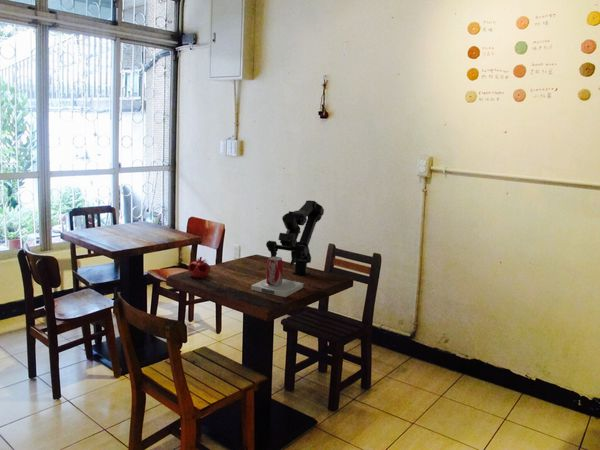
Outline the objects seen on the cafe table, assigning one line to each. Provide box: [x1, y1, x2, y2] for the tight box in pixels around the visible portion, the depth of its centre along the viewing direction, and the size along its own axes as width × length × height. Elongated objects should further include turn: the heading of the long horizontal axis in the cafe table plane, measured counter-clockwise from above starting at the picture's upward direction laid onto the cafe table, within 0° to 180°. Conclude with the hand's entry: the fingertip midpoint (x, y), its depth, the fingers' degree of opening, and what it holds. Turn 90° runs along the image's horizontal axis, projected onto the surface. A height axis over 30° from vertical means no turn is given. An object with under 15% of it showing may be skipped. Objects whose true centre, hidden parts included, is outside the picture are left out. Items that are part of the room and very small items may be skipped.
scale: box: [250, 278, 304, 298], centre depth 233 cm, size 17×17×2 cm
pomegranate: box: [188, 256, 211, 279], centre depth 245 cm, size 10×10×9 cm
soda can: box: [265, 256, 284, 286], centre depth 229 cm, size 7×7×12 cm
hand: (280, 264), depth 234 cm, fingers open, 9 cm apart
